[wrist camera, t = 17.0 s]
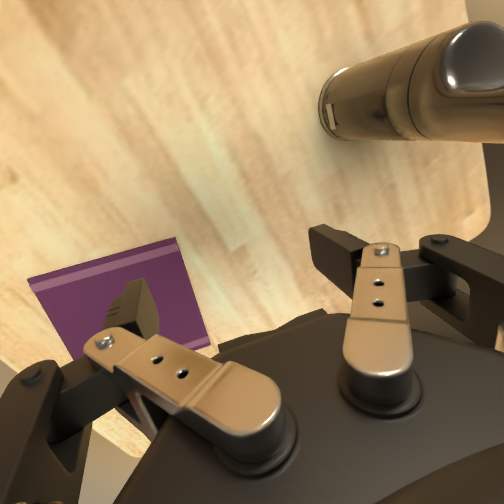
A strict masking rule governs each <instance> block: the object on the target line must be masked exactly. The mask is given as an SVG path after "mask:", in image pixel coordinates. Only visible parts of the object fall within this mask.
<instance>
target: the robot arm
mask: <svg viewBox="0 0 504 504" xmlns="http://www.w3.org/2000/svg"><path fill="white" fill-rule="evenodd" d="M319 116H320V120H321V123H322V125H323V127H324V128H325V130H326V131H327V132H328V133H329V134H330V135H331V136H332V137H334V138H336V139H339V140H403V141H461V142H479V143H504V28H503V27H501V26H500V25H498V24H496V23H494V22H490V21H476V22H471V23H467V24H464V25H461V26H459V27H456V28H453V29H451V30H448V31H446V32H443V33H440V34H438V35H435V36H432V37H430V38H427V39H424V40H422V41H419V42H417V43H414V44H412V45H409V46H406V47H404V48H401V49H398V50H395V51H393V52H390V53H387V54H385V55H382V56H379V57H377V58H374V59H371V60H369V61H366V62H363V63H360V64H357V65H355V66H351V67H347V68H345V69H342V70H340V71H338V72H336V73H335V74H334V75H332V76H331V77H330V78H329V80H328V81H327V82H326V84H325V86H324V87H323V90H322V92H321V95H320V100H319ZM308 234H309V241H310V249H311V256H312V261H313V264H314V266H315V267H316V269H317V270H319V271H320V272H321V273H322V274H323V275H324V276H325V277H327V278H328V279H329V280H330V281H331V282H332V283H334V284H335V285H336V286H337V287H338V288H339V289H340V290H342V291H343V292H344V293H345V294H346V295H347V296H349V297H350V298H351V299H352V307H351V313H350V314H346V313H335V314H327V313H326V311H325V310H324V309H323V308H321V309H318V310H316V311H313V312H310V313H307V314H304V315H301V316H298V317H296V318H295V319H293V320H291V321H290V322H288V323H286V324H284V325H283V326H281V327H279V328H277V329H275V330H273V331H267V332H261V333H255V334H250V335H244V336H241V337H238V338H236V339H233V340H230V341H227V342H224V343H221V344H218V348H219V352H220V353H218V354H217V355H215V356H214V357H212V358H211V359H210V358H208V357H206V356H204V355H202V354H200V353H197V352H195V351H193V350H191V349H189V348H187V347H184V346H182V345H180V344H178V343H176V342H174V341H171V340H169V339H167V338H165V337H163V336H161V335H159V315H158V311H157V308H156V305H155V302H154V300H153V297H152V295H151V292H150V290H149V287H148V285H147V282H146V280H145V279H144V278H140V279H136V280H133V281H129V282H127V283H126V285H125V289H124V293H123V295H120V296H117V297H116V298H115V299H114V300H113V301H112V302H111V304H110V306H109V309H108V312H107V315H106V318H105V322H104V325H103V328H102V331H101V332H99V333H97V334H96V335H94V336H93V337H91V338H90V339H89V340H88V341H87V342H86V344H85V345H84V347H83V352H84V355H83V356H81V357H80V358H78V359H76V360H74V361H72V362H70V363H68V364H66V365H64V366H63V367H61V368H59V366H58V364H57V363H56V361H54V360H44V361H40V362H37V363H35V364H33V365H31V366H29V367H27V368H26V369H24V370H23V371H21V372H20V373H19V374H17V375H16V376H15V377H14V378H13V379H12V380H11V381H10V383H9V384H8V386H7V388H6V389H5V391H4V393H3V395H2V396H1V398H0V504H78V500H79V495H80V489H81V484H82V478H83V473H84V468H85V462H86V457H87V451H88V446H89V440H90V435H91V429H92V421H94V420H96V419H97V418H99V417H100V416H102V415H104V414H105V413H107V412H108V411H110V410H112V409H113V408H115V409H116V410H117V411H118V412H119V413H120V414H121V415H122V416H123V417H125V418H126V419H127V420H128V421H129V422H131V423H132V424H133V425H134V426H135V427H136V428H138V429H139V430H140V431H141V432H142V433H143V434H144V435H145V436H146V437H147V438H148V439H149V440H150V442H151V444H150V446H149V447H148V449H147V451H146V452H145V454H144V455H143V457H142V458H141V460H140V462H139V463H138V465H137V466H136V468H135V469H134V471H133V473H132V474H131V476H130V477H129V479H128V481H127V482H126V484H125V485H124V487H123V488H122V490H121V491H120V493H119V495H118V496H117V498H116V499H115V501H114V503H113V504H504V256H503V255H501V254H498V253H495V252H493V251H490V250H488V249H485V248H482V247H480V246H477V245H475V244H472V243H469V242H467V241H464V240H462V239H459V238H457V237H454V236H450V235H443V234H435V235H428V236H425V237H422V238H421V239H420V240H419V249H416V250H409V251H402V252H400V248H399V247H398V246H397V245H394V244H391V243H374V244H369V243H367V242H365V241H363V240H361V239H358V238H357V237H356V236H353V235H352V234H350V233H348V232H346V231H340V230H335V229H333V228H331V227H329V226H328V225H326V224H321V225H318V226H315V227H311V228H309V231H308ZM458 276H459V277H461V278H462V279H464V280H465V281H466V282H467V283H468V285H469V288H470V296H469V295H467V294H466V293H464V292H462V291H460V290H459V289H457V279H458ZM412 301H419V302H420V303H421V304H422V305H423V306H425V307H426V308H427V309H429V310H430V311H432V312H433V313H434V314H436V315H437V316H439V317H440V318H441V319H443V320H444V321H445V322H447V323H448V324H449V325H451V326H452V327H454V328H455V329H456V330H458V331H459V332H461V333H462V334H463V335H465V336H466V337H467V338H469V339H470V340H472V341H473V342H474V343H476V344H473V343H469V342H465V341H461V340H456V339H453V338H449V337H444V336H441V335H436V334H432V333H428V332H424V331H420V330H416V329H412V328H410V322H409V319H408V310H407V302H412Z"/></svg>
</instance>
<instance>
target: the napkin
mask: <svg viewBox="0 0 504 504" xmlns="http://www.w3.org/2000/svg"><path fill="white" fill-rule="evenodd" d="M140 278H144V279H145V280H146V282H147V285H148V287H149V290H150V292H151V295H152V297H153V300H154V302H155V305H156V308H157V311H158V315H159V335H161V336H163V337H165V338H167V339H169V340H171V341H174V342H176V343H178V344H180V345H182V346H184V347H187V348H189V349H191V350H193V351H195V350H198V349H201V348H203V347H206V346H209V345H211V344H210V341H209V338H208V335H207V332H206V329H205V325H204V322H203V319H202V316H201V313H200V310H199V307H198V304H197V301H196V298H195V295H194V292H193V289H192V286H191V283H190V280H189V277H188V274H187V271H186V268H185V265H184V262H183V259H182V256H181V253H180V250H179V247H178V244H177V241H176V238H175V237H174V238H170V239H167V240H163V241H160V242H156V243H152V244H149V245H145V246H142V247H138V248H135V249H131V250H128V251H124V252H121V253H117V254H113V255H110V256H106V257H103V258H99V259H96V260H92V261H89V262H85V263H81V264H78V265H74V266H71V267H67V268H64V269H60V270H57V271H53V272H50V273H46V274H42V275H39V276H35V277H32V278H28V279H27V281H28V283H29V286H30V287H31V289H32V291H33V293H35V295H36V297H37V298H38V300H39V302H40V303H41V305H42V307H43V309H44V310H45V312H46V314H47V315H48V317H49V319H50V321H51V322H52V324H53V326H54V327H55V329H56V331H57V332H58V334H59V336H60V338H61V339H62V341H63V343H64V344H65V346H66V348H67V350H68V351H69V353H70V355H71V356H72V358H73V360H76V359H78V358H80V357H81V356H83V355H84V352H83V347H84V345H85V344H86V342H87V341H88V340H89V339H90V338H91V337H93V336H94V335H96V334H97V333H99V332H101V331H102V328H103V325H104V322H105V318H106V315H107V312H108V309H109V306H110V304H111V302H112V301H113V300H114V299H115V298H116V297H117V296H120V295H123V293H124V289H125V285H126V283H127V282H129V281H133V280H136V279H140Z"/></svg>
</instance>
